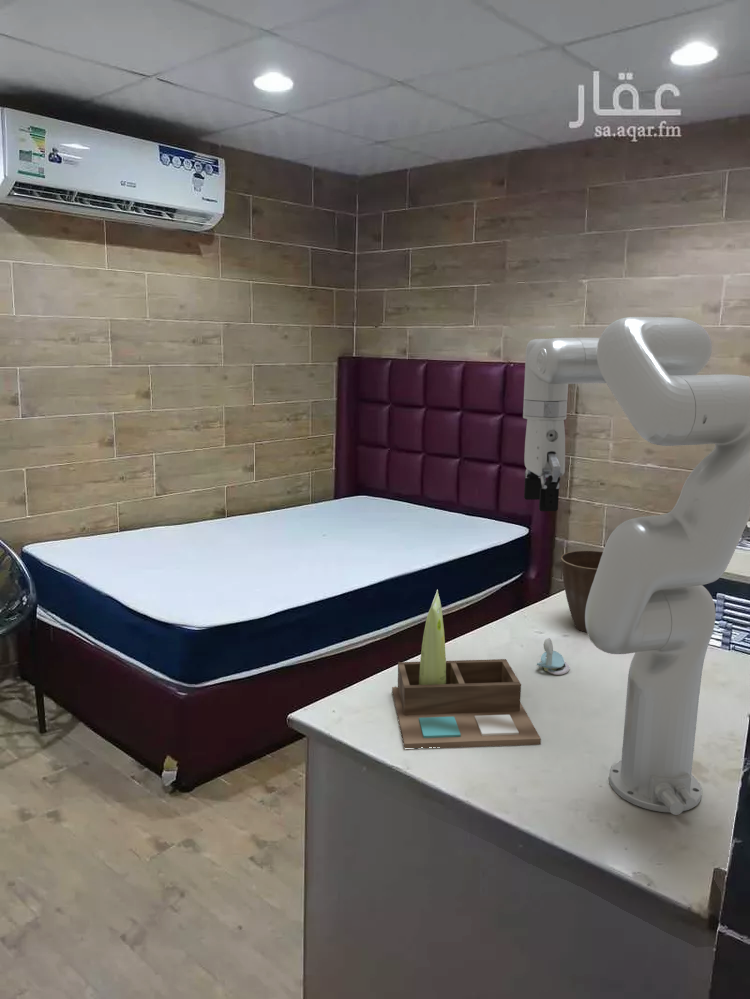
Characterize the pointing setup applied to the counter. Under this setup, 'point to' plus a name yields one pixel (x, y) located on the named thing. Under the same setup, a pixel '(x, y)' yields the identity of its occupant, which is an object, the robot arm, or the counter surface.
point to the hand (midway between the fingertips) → (540, 504)
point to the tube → (433, 647)
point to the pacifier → (552, 660)
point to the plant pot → (579, 581)
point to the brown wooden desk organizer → (463, 707)
